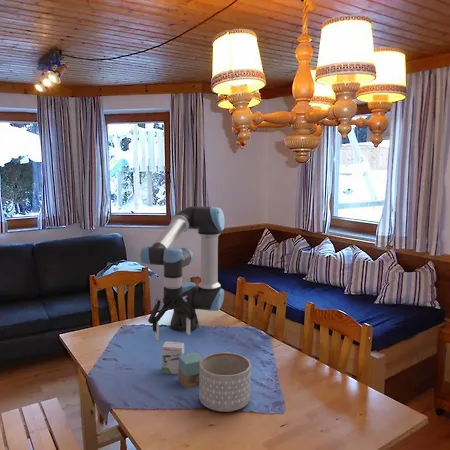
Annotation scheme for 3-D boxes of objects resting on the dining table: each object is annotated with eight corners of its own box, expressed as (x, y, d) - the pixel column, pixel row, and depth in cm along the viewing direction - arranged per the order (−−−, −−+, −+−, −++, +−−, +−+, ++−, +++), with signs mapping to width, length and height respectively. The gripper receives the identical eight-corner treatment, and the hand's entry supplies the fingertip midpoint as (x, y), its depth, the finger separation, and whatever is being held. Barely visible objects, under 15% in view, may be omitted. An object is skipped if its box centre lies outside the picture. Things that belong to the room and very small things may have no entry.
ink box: (161, 373, 174) (161, 346, 173) (164, 367, 179) (164, 341, 178) (182, 374, 173) (182, 347, 172) (184, 369, 178) (184, 342, 177)
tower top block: (196, 363, 173) (197, 352, 172) (205, 372, 166) (205, 360, 165) (178, 367, 169) (178, 355, 169) (186, 376, 162) (186, 364, 162)
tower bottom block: (196, 375, 173) (197, 363, 173) (204, 384, 166) (205, 372, 166) (178, 379, 170) (178, 367, 169) (185, 388, 163) (185, 376, 162)
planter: (210, 383, 167) (210, 349, 165) (255, 392, 160) (256, 357, 158) (190, 408, 149) (190, 370, 147) (240, 420, 143) (241, 380, 141)
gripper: (197, 281, 180) (197, 328, 183) (140, 287, 169) (140, 337, 172) (204, 285, 173) (204, 334, 176) (145, 292, 162) (145, 344, 165)
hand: (172, 336), depth 174 cm, fingers open, 13 cm apart
